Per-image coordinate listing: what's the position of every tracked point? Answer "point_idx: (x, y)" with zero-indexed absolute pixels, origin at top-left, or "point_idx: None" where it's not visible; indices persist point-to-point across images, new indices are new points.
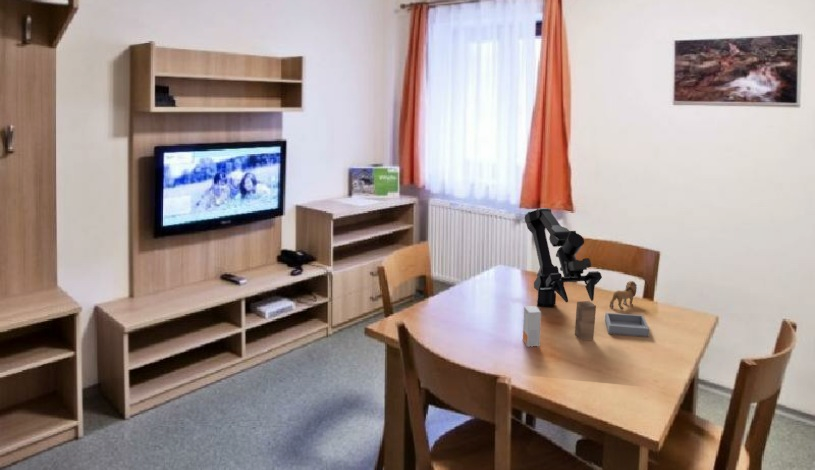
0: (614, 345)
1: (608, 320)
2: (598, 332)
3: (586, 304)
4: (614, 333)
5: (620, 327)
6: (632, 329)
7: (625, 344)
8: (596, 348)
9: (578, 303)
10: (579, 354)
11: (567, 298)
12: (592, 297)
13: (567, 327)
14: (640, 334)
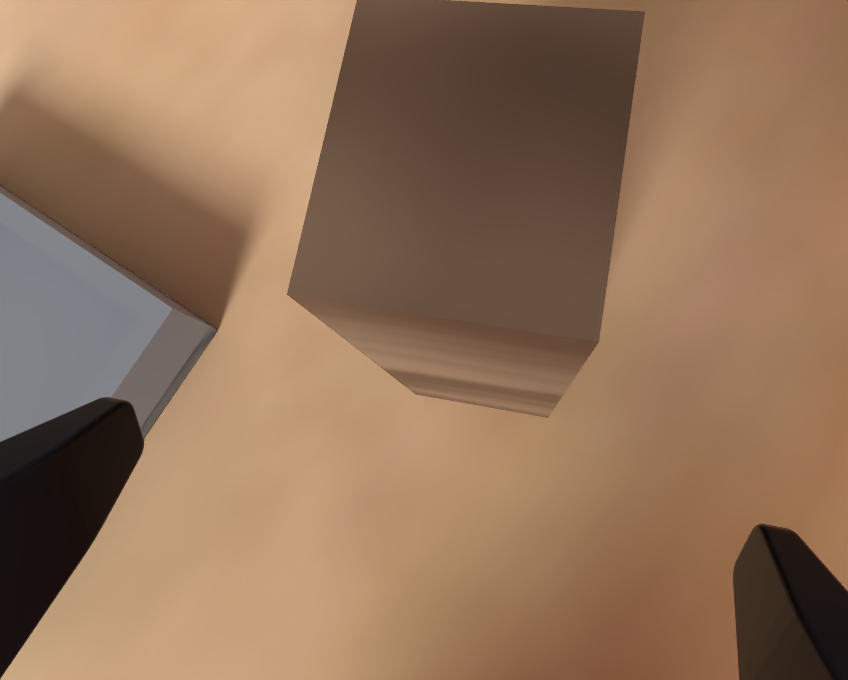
0: None
1: None
2: (278, 393)
3: (493, 113)
4: (173, 300)
5: (96, 255)
6: (24, 206)
7: (250, 97)
8: None
9: (607, 262)
10: (766, 17)
11: (791, 578)
12: (82, 423)
13: (495, 638)
14: (8, 191)
